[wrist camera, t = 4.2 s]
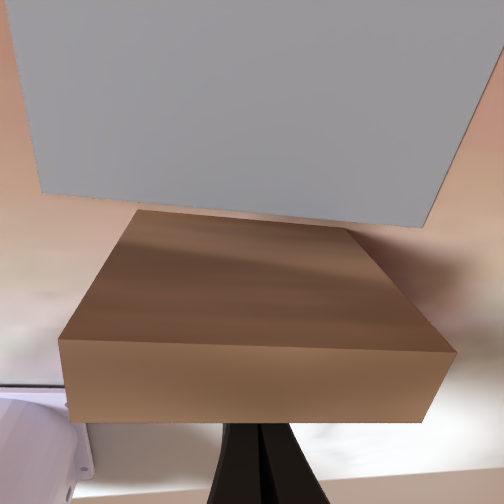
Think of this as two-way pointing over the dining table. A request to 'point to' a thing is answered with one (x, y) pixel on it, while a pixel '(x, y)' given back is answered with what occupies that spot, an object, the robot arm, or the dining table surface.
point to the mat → (254, 100)
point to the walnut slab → (246, 329)
